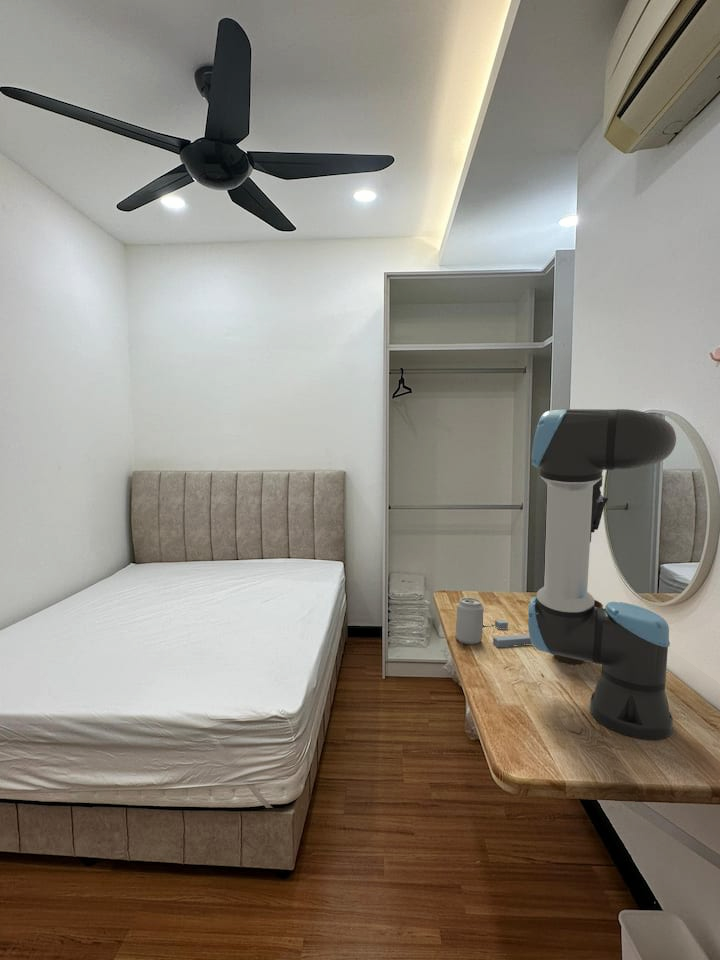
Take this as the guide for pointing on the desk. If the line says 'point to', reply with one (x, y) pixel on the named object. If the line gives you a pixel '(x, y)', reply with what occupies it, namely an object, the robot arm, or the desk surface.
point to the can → (469, 621)
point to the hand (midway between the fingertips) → (582, 553)
